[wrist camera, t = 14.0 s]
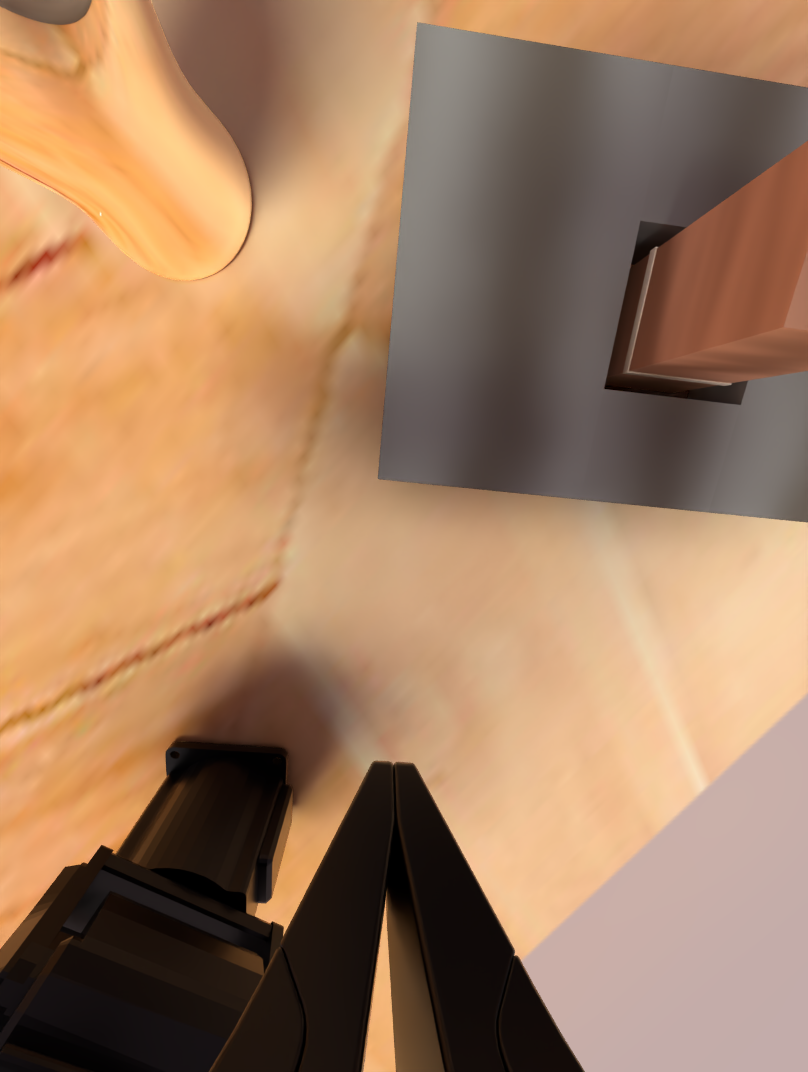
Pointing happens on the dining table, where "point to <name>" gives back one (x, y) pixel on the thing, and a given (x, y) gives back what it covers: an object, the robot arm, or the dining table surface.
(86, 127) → the beer glass
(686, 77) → the board
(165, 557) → the dining table surface
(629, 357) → the peg
